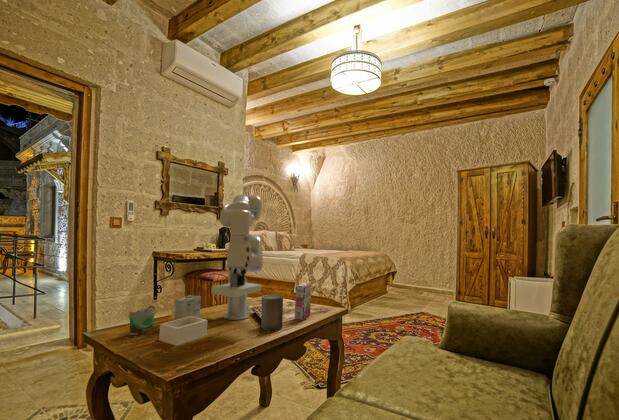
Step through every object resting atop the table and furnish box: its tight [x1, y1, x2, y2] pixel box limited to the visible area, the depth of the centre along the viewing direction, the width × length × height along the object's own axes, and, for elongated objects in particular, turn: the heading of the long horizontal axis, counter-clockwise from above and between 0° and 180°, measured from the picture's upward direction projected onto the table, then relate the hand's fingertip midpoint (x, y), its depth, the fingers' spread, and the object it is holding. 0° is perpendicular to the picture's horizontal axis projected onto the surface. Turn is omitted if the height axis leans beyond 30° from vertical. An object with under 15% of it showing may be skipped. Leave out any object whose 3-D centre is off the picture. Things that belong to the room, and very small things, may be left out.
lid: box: [211, 273, 263, 297], centre depth 130 cm, size 16×12×8 cm
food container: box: [128, 305, 157, 336], centre depth 129 cm, size 12×6×10 cm, turn 168°
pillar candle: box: [260, 293, 284, 331], centre depth 142 cm, size 10×10×15 cm
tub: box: [158, 316, 208, 347], centre depth 123 cm, size 14×10×7 cm
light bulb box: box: [173, 294, 202, 320], centre depth 149 cm, size 11×7×11 cm, turn 162°
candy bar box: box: [294, 282, 312, 321], centre depth 160 cm, size 11×5×16 cm, turn 162°
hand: (237, 284), depth 130 cm, fingers closed on lid, 2 cm apart
